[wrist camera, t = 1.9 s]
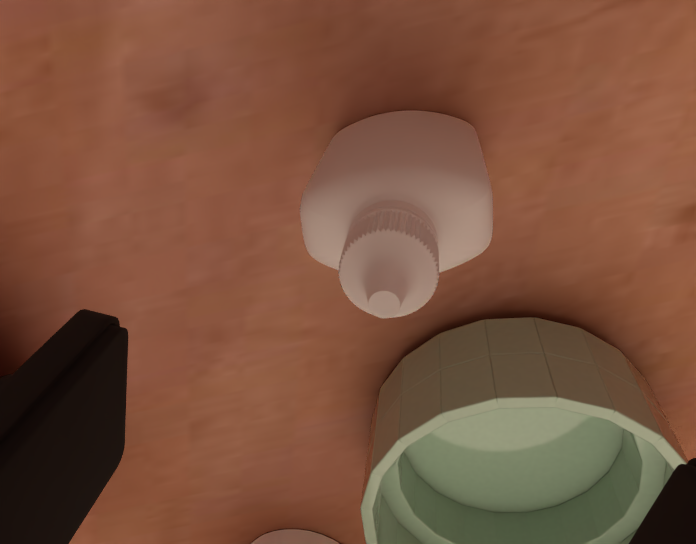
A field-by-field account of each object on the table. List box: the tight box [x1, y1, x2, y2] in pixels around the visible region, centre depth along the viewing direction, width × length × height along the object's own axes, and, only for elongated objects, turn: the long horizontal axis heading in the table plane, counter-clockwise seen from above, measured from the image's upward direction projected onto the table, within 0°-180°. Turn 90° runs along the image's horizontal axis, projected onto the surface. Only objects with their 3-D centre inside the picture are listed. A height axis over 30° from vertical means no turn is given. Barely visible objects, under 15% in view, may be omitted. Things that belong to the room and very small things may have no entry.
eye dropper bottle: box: [300, 110, 493, 318], centre depth 18 cm, size 4×6×12 cm
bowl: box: [360, 317, 688, 544], centre depth 27 cm, size 13×13×6 cm
